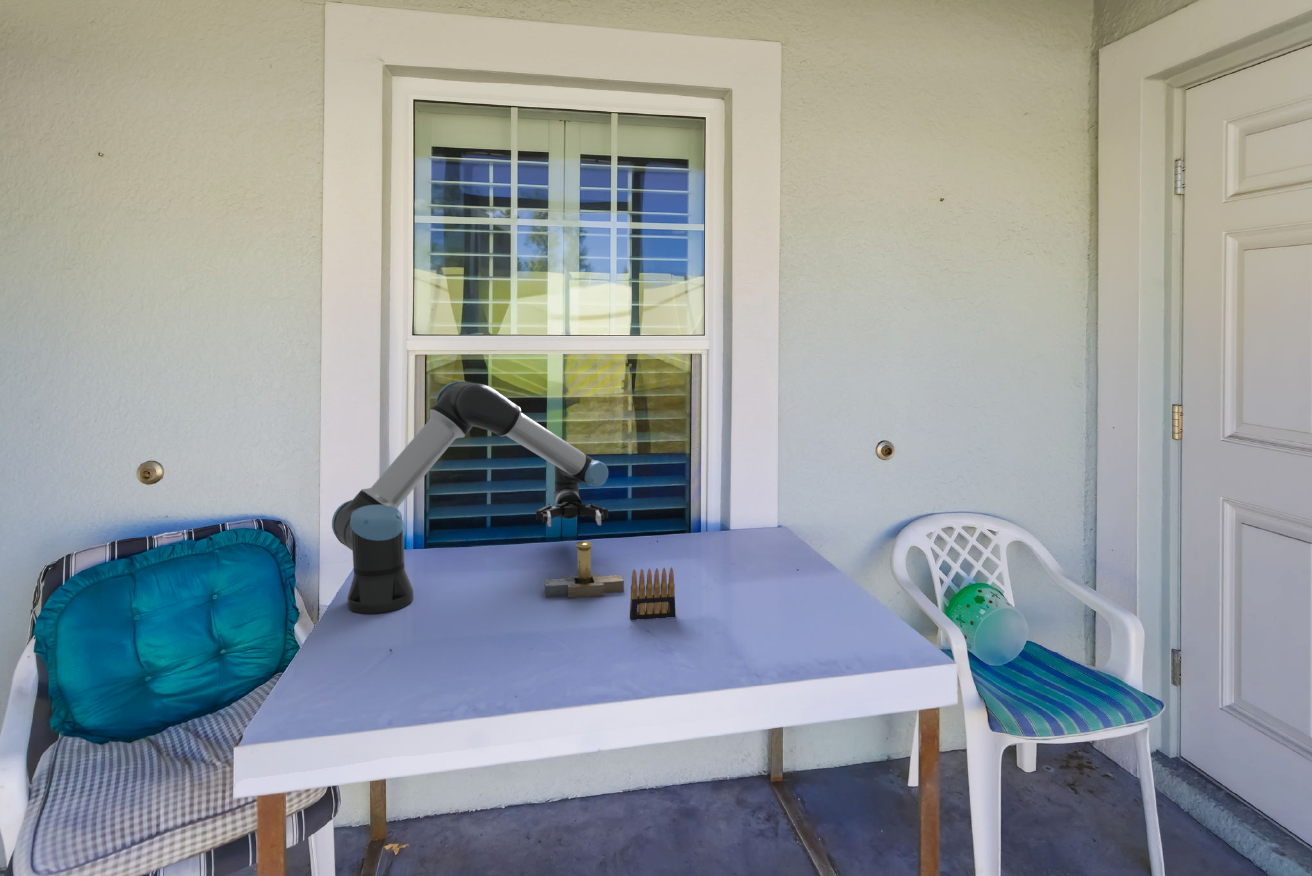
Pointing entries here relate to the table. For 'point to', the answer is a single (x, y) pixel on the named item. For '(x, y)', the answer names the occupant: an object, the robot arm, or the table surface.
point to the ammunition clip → (652, 596)
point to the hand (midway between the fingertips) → (574, 521)
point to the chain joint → (584, 586)
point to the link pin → (584, 561)
